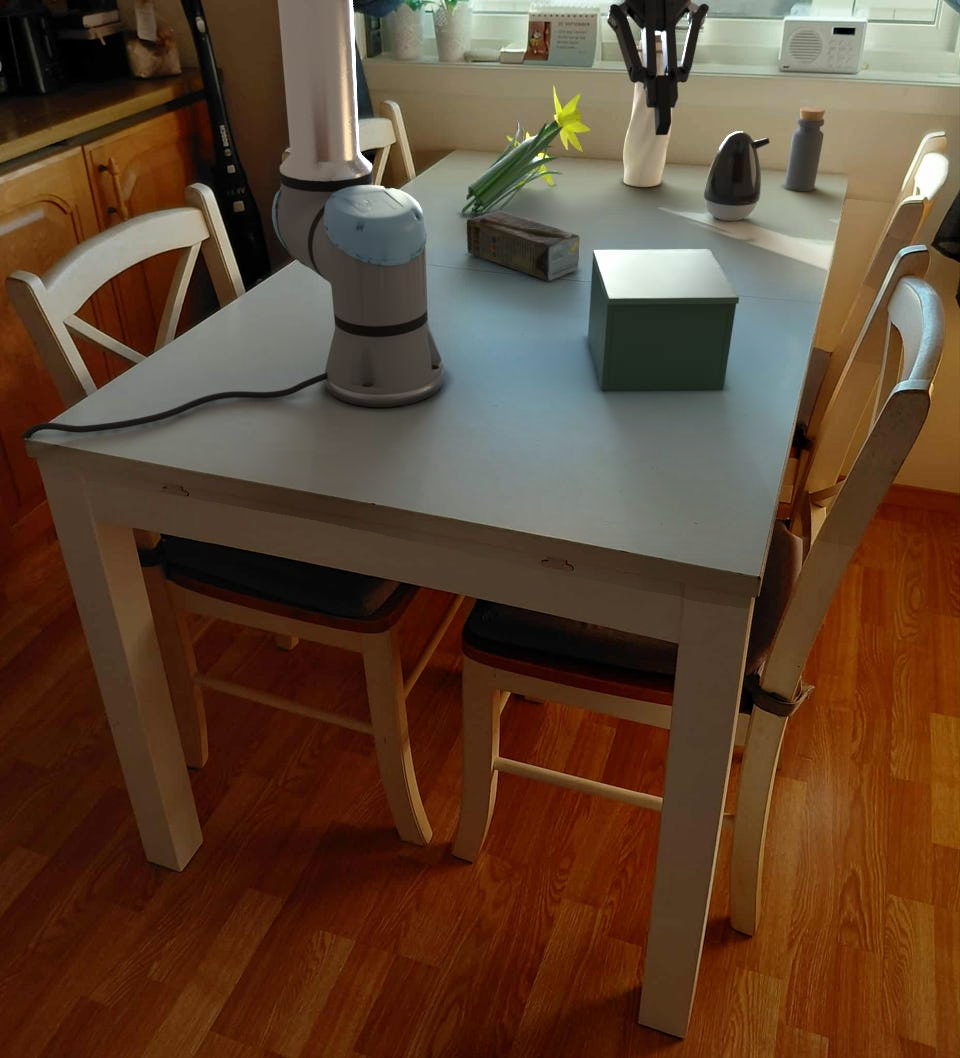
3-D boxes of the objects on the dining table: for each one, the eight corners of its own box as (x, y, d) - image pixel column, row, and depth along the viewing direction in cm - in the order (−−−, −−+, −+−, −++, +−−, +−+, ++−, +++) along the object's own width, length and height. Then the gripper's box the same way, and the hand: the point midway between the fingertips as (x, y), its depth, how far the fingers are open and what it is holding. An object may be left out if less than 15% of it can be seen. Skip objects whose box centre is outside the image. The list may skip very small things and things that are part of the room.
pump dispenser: (756, 227, 179) (770, 140, 170) (699, 222, 181) (709, 136, 173) (758, 211, 187) (771, 127, 178) (703, 207, 189) (713, 124, 181)
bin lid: (738, 303, 117) (739, 297, 117) (608, 305, 117) (608, 298, 117) (708, 254, 132) (709, 248, 131) (592, 255, 131) (593, 249, 131)
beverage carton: (547, 283, 156) (548, 242, 152) (464, 255, 167) (463, 216, 163) (580, 270, 160) (582, 230, 157) (497, 244, 172) (497, 206, 168)
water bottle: (676, 180, 205) (692, 32, 189) (659, 191, 199) (674, 38, 183) (631, 173, 209) (643, 28, 193) (613, 183, 203) (624, 34, 187)
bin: (723, 389, 125) (736, 301, 118) (601, 390, 124) (607, 302, 118) (697, 337, 138) (708, 255, 132) (587, 338, 138) (592, 256, 131)
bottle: (778, 185, 202) (791, 107, 193) (803, 182, 203) (817, 105, 195) (794, 192, 197) (808, 113, 189) (819, 189, 199) (834, 111, 190)
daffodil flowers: (431, 211, 191) (527, 127, 208) (489, 258, 191) (580, 171, 208) (454, 147, 176) (556, 64, 193) (517, 198, 176) (613, 110, 193)
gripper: (698, -17, 130) (708, 145, 126) (600, -16, 130) (607, 146, 126) (712, -60, 123) (722, 110, 118) (608, -60, 123) (615, 111, 118)
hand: (663, 128), depth 122 cm, fingers closed
